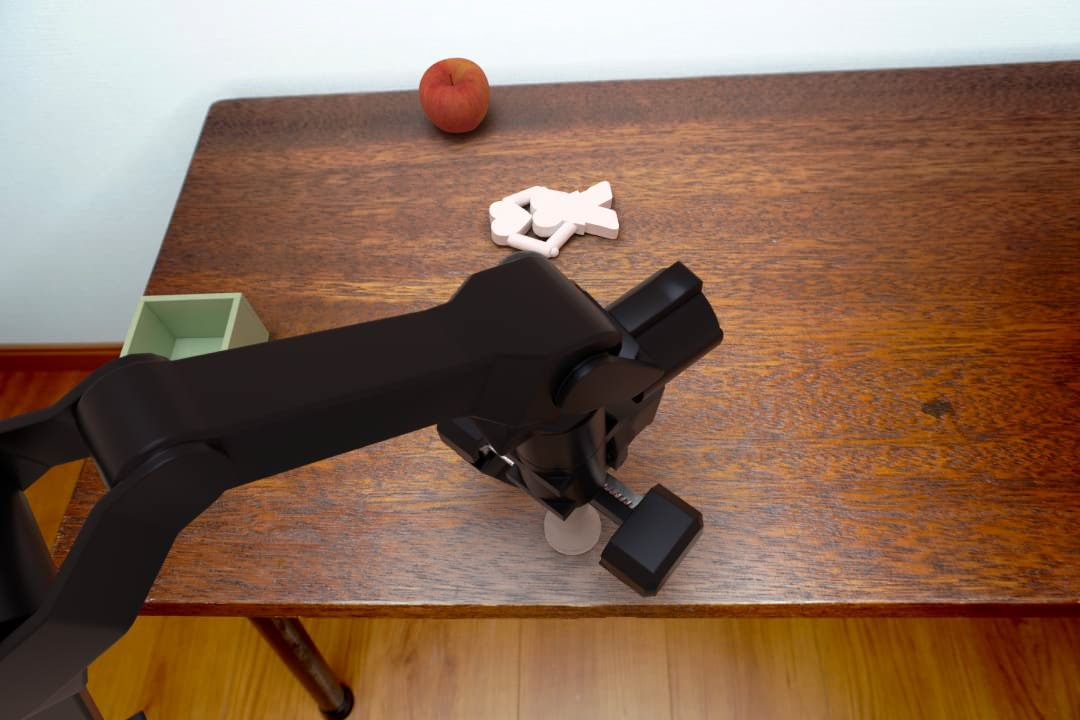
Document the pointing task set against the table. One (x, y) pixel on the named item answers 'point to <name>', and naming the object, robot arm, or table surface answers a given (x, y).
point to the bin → (192, 325)
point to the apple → (455, 94)
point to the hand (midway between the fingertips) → (570, 518)
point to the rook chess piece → (573, 530)
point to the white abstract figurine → (552, 217)
